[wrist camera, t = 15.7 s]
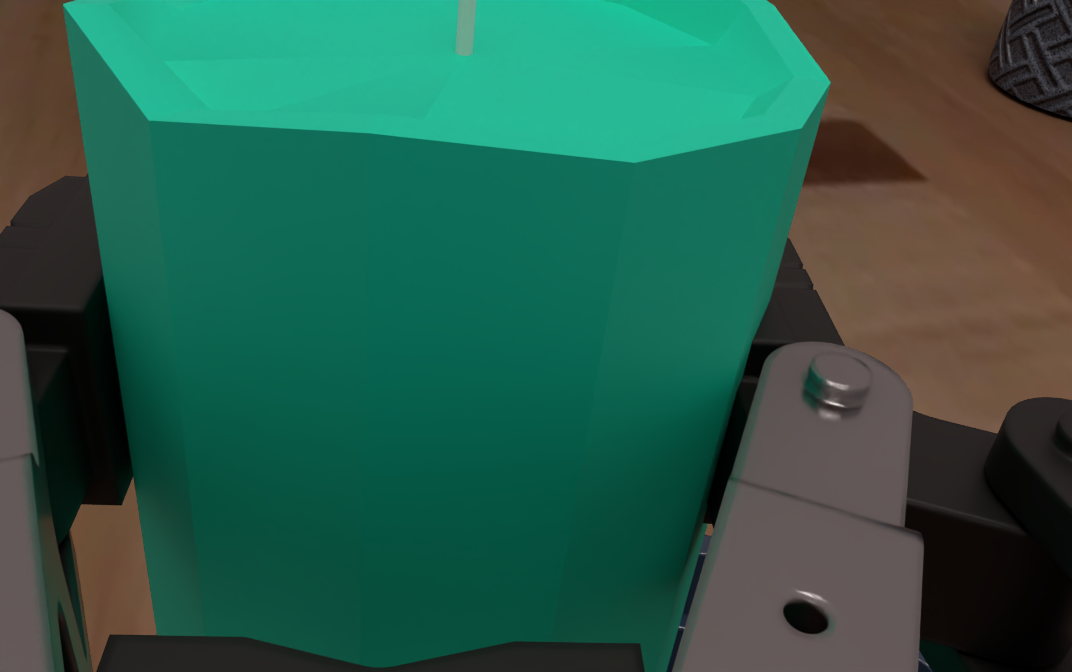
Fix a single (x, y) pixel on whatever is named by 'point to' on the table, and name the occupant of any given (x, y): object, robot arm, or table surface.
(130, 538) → the table surface
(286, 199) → the candle
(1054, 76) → the vase
